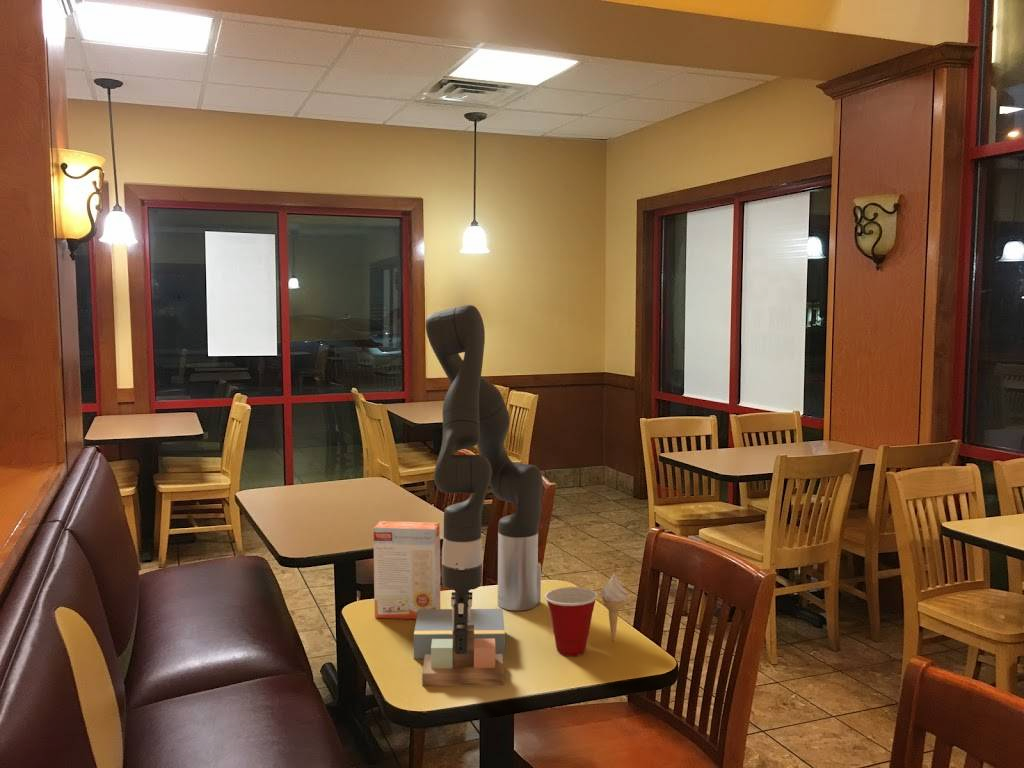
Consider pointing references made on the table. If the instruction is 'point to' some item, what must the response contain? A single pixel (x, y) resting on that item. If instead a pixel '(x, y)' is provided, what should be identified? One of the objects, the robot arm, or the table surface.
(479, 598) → the table surface
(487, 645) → the block
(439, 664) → the pale green cube
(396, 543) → the cracker box
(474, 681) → the pallet
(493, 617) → the dock
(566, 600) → the plastic cup
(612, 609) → the ice cream cone
